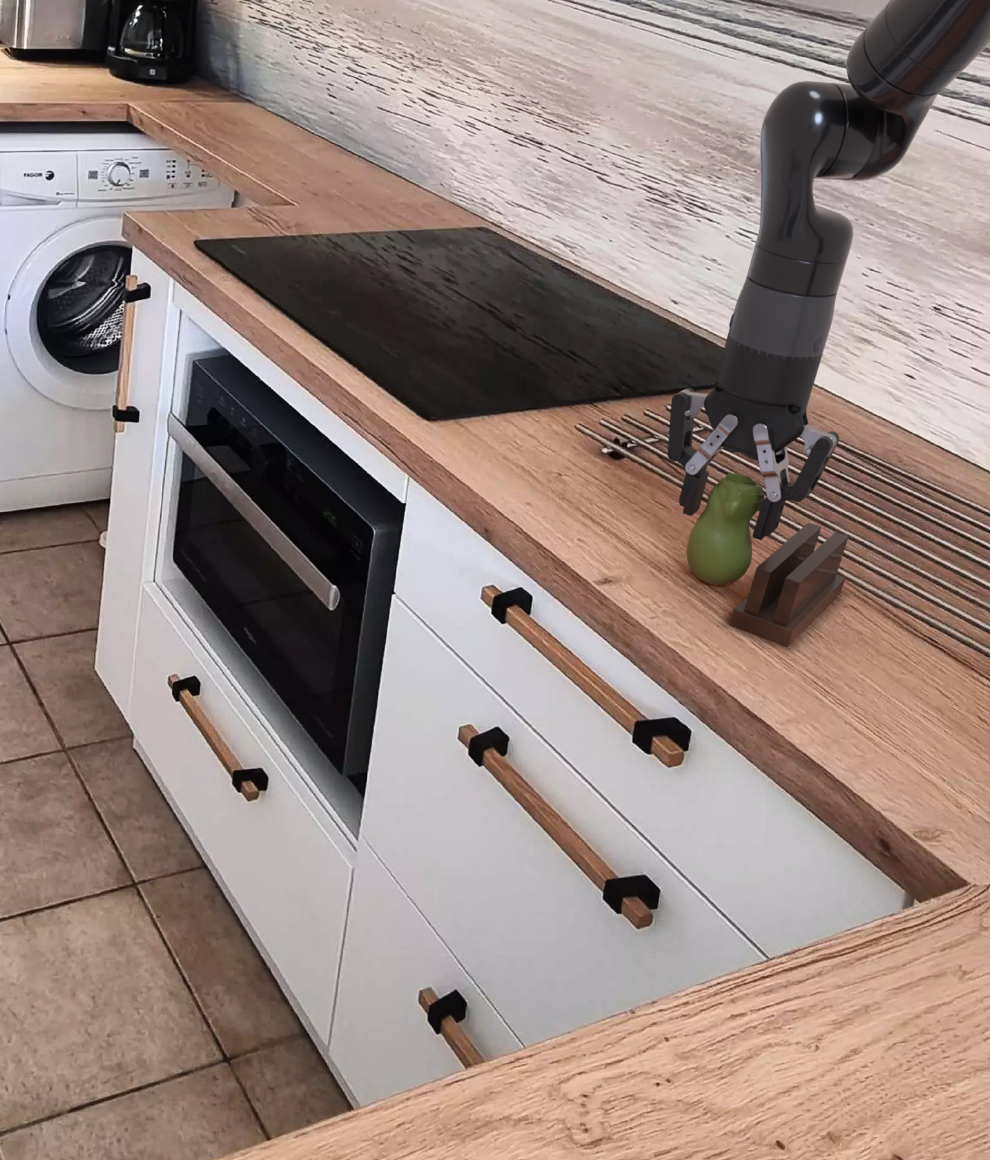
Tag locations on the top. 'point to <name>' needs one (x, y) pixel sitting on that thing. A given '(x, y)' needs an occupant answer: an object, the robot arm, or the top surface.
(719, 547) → the pear
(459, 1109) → the top surface
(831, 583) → the holder
